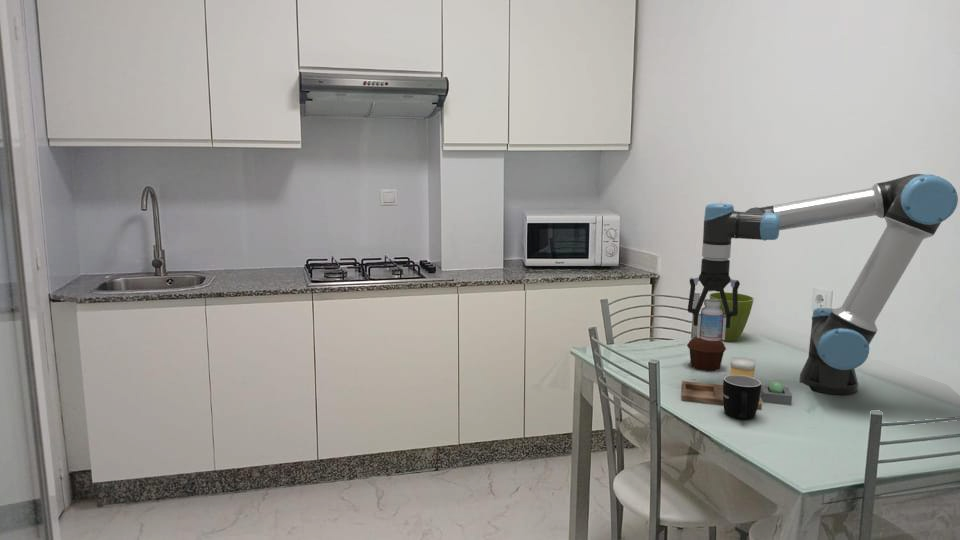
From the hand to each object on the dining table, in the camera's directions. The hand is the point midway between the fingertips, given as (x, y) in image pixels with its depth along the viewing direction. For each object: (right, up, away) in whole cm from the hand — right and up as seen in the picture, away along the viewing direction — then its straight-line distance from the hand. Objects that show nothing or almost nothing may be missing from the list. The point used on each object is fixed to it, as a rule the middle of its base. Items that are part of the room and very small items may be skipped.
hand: (710, 337), depth 189 cm
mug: (0, -19, -22) cm, 29 cm away
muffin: (+5, -12, +20) cm, 23 cm away
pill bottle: (0, 0, 0) cm, 1 cm away
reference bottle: (+4, -16, -11) cm, 20 cm away
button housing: (+14, -17, -10) cm, 24 cm away
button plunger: (+14, -15, -10) cm, 23 cm away
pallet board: (-1, -16, -9) cm, 19 cm away
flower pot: (+24, -6, +51) cm, 57 cm away
